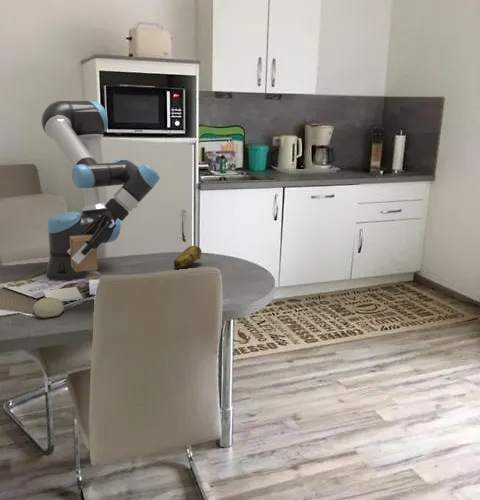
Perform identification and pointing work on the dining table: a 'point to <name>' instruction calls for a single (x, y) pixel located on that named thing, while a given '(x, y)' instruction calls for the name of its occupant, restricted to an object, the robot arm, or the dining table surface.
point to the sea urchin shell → (48, 307)
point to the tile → (64, 294)
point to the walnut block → (89, 259)
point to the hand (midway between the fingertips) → (72, 257)
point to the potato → (188, 257)
